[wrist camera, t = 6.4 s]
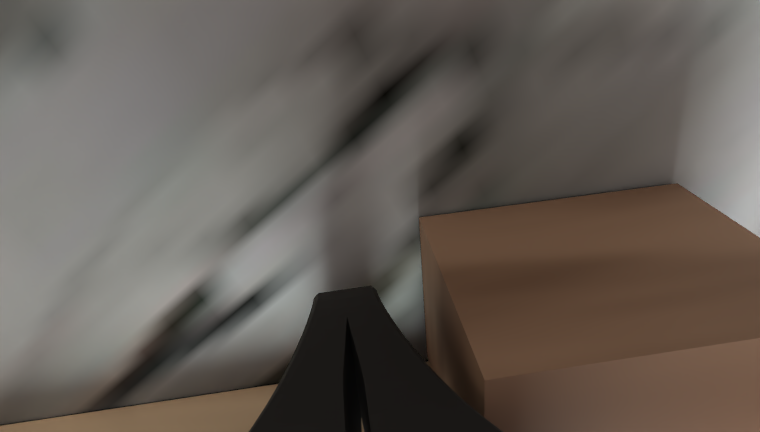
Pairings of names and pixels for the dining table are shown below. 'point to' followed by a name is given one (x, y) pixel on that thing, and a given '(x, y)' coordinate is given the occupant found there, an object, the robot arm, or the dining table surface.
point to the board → (166, 415)
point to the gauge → (597, 313)
